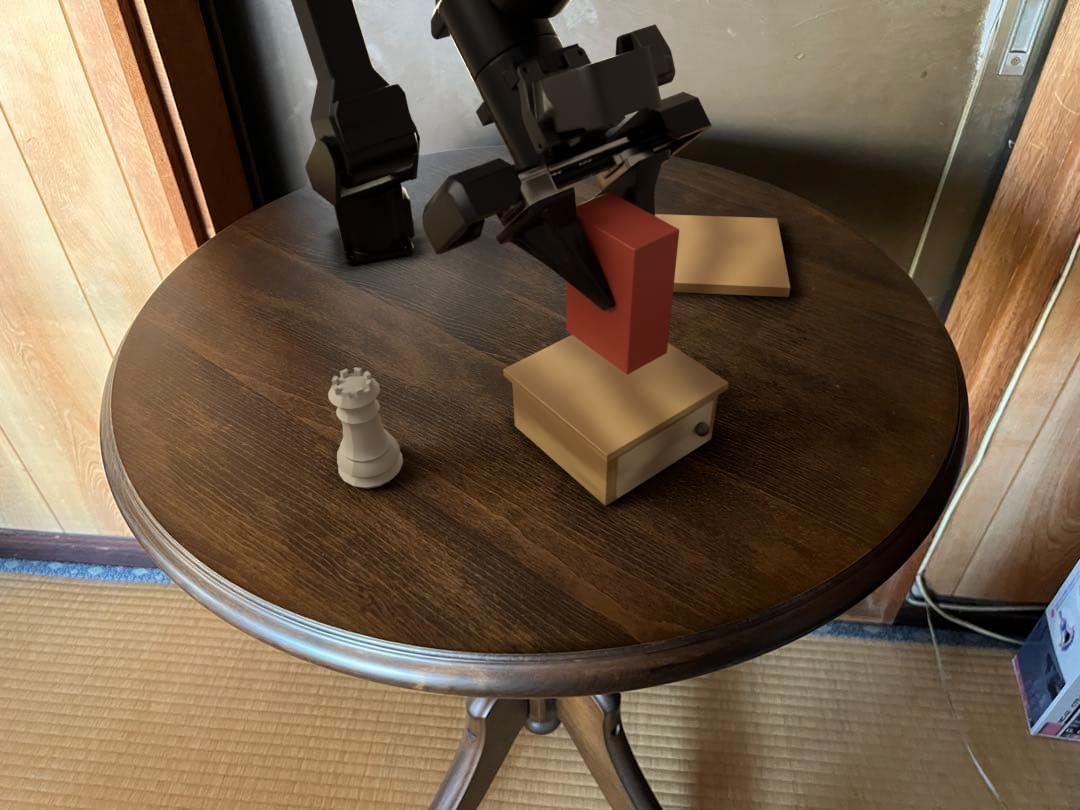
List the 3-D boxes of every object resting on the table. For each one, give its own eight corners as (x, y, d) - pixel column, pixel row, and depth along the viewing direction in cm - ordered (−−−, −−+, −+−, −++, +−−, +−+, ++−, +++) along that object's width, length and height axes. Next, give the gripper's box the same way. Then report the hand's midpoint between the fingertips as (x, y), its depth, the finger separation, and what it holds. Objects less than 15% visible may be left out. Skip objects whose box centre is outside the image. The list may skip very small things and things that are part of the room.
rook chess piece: (384, 499, 55) (364, 410, 50) (326, 482, 57) (301, 394, 51) (415, 454, 59) (399, 366, 53) (360, 439, 60) (339, 351, 55)
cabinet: (612, 519, 54) (614, 462, 50) (506, 425, 61) (502, 369, 57) (727, 445, 59) (737, 387, 55) (617, 365, 65) (620, 310, 62)
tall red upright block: (627, 375, 52) (634, 249, 46) (565, 331, 55) (565, 209, 49) (667, 353, 53) (680, 229, 47) (605, 311, 57) (610, 190, 51)
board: (637, 290, 73) (638, 281, 72) (640, 222, 82) (641, 213, 81) (788, 297, 72) (790, 287, 71) (775, 227, 81) (777, 218, 80)
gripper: (425, 19, 39) (576, 321, 39) (706, -53, 47) (827, 198, 48) (368, 129, 48) (490, 369, 49) (609, 54, 57) (710, 260, 58)
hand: (633, 296), depth 51 cm, fingers closed on tall red upright block, 3 cm apart
